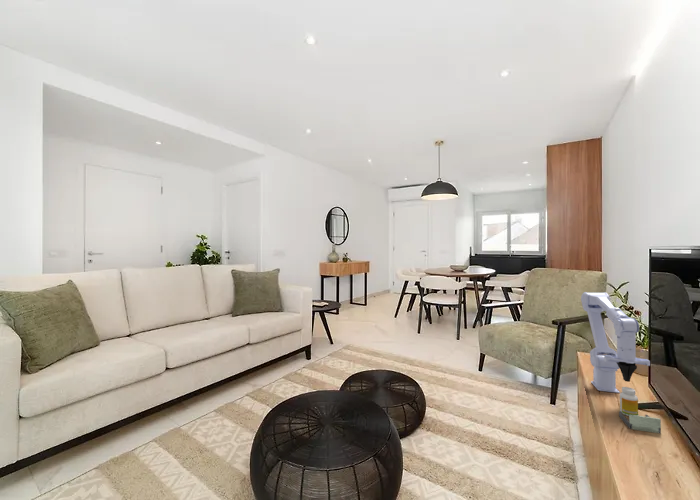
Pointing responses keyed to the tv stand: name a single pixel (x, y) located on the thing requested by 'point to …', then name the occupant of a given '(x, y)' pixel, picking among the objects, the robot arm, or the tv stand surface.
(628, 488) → the tv stand surface
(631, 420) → the seating bay
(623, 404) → the supplement bottle
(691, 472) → the tv stand surface
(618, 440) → the tv stand surface
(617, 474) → the tv stand surface
